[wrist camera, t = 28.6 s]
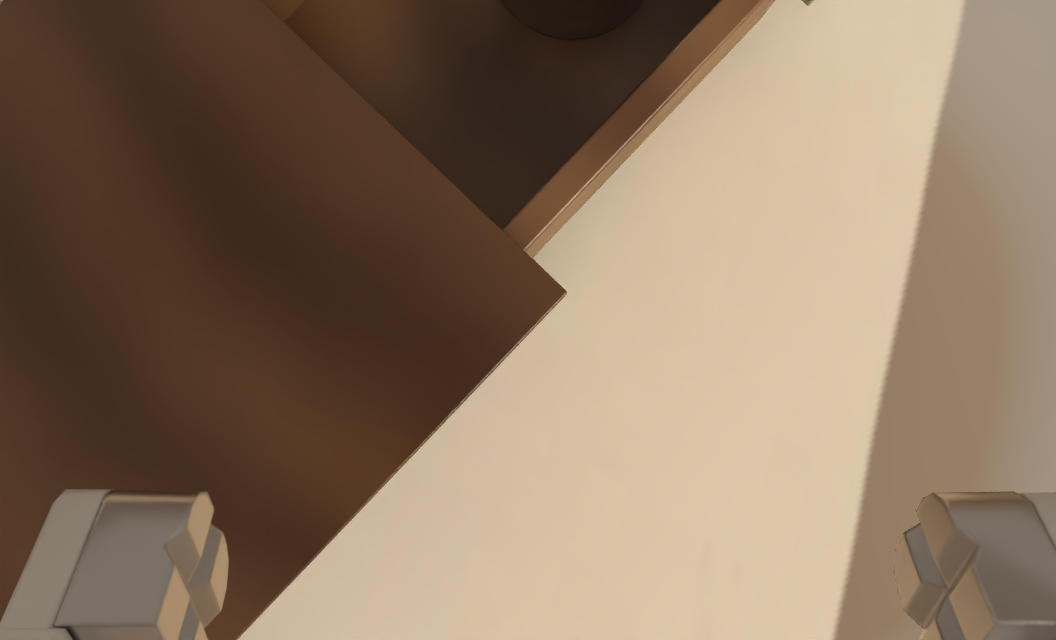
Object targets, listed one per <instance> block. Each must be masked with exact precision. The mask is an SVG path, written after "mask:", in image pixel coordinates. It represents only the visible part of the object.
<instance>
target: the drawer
mask: <svg viewBox="0 0 1056 640" xmlns="http://www.w3.org/2000/svg"><path fill="white" fill-rule="evenodd" d="M262 1H263V2H264V3H265V4H266V5H267V6H268V7H269V8H270V9H271V10H272V11H274V12H275V13H276V14H277V15H278V16H279V17H280V18H281V19H282V20H283V21H284V22H285V23H286V24H287V25H288V26H289V27H290V28H291V29H292V30H293V31H294V32H296V33H297V34H298V35H299V36H300V37H301V38H302V39H303V40H304V41H305V42H306V43H307V44H308V45H309V46H310V47H311V48H312V49H313V50H314V51H315V52H316V53H318V54H319V55H320V56H321V57H322V58H323V59H324V60H325V61H326V62H327V63H328V64H329V65H330V66H331V67H332V68H333V69H334V70H335V71H336V72H337V73H338V74H340V75H341V76H342V77H343V78H344V79H345V80H346V81H347V82H348V83H349V84H350V85H351V86H352V87H353V88H354V89H355V90H356V91H357V92H358V93H359V94H360V95H362V96H363V97H364V98H365V99H366V100H367V101H368V102H369V103H370V104H371V105H372V106H373V107H374V108H375V109H376V110H377V111H378V112H379V113H380V114H381V115H382V116H384V117H385V118H386V119H387V120H388V121H389V122H390V123H391V124H392V125H393V126H394V127H395V128H396V129H397V130H398V131H399V132H400V133H401V134H402V135H403V136H404V137H406V138H407V139H408V140H409V141H410V142H411V143H412V144H413V145H414V146H415V147H416V148H417V149H418V150H419V151H420V152H421V153H422V154H423V155H424V156H425V157H426V158H428V159H429V160H430V161H431V162H432V163H433V164H434V165H435V166H436V167H437V168H438V169H439V170H440V171H441V172H442V173H443V174H444V175H445V176H446V177H447V178H448V179H450V180H451V181H452V182H453V183H454V184H455V185H456V186H457V187H458V188H459V189H460V190H461V191H462V192H463V193H464V194H465V195H466V196H467V197H468V198H469V199H470V200H472V201H473V202H474V203H475V204H476V205H477V206H478V207H479V208H480V209H481V210H482V211H483V212H484V213H485V214H486V215H487V216H488V217H489V218H490V219H491V220H492V221H494V222H495V223H496V224H497V225H498V226H499V227H500V228H501V229H502V230H503V231H504V232H505V233H506V234H507V235H508V236H509V237H510V238H511V239H512V240H513V241H514V242H516V243H517V244H518V245H519V246H520V247H521V248H522V249H523V250H524V251H525V252H526V253H527V254H528V255H529V256H530V257H531V258H533V257H534V256H535V255H536V254H537V253H538V252H539V251H540V250H541V248H542V247H543V246H544V245H545V244H546V243H547V242H548V241H549V240H550V239H551V238H552V237H553V236H554V235H555V234H556V233H557V232H558V231H559V230H560V229H561V228H562V226H563V225H564V224H565V223H566V222H567V221H568V220H569V219H570V218H571V217H572V216H573V215H574V214H575V213H576V212H577V211H578V210H579V209H580V208H581V207H582V205H583V204H584V203H585V202H586V201H587V200H588V199H589V198H590V197H591V196H592V195H593V194H594V193H595V192H596V191H597V190H598V189H599V188H600V187H601V186H602V185H603V183H604V182H605V181H606V180H607V179H608V178H609V177H610V176H611V175H612V174H613V173H614V172H615V171H616V170H617V169H618V168H619V167H620V166H621V165H622V164H623V163H624V161H625V160H626V159H627V158H628V157H629V156H630V155H631V154H632V153H633V152H634V151H635V150H636V149H637V148H638V147H639V146H640V145H641V144H642V143H643V142H644V140H645V139H646V138H647V137H648V136H649V135H650V134H651V133H652V132H653V131H654V130H655V129H656V128H657V127H658V126H659V125H660V124H661V123H662V122H663V121H664V120H665V118H666V117H667V116H668V115H669V114H670V113H671V112H672V111H673V110H674V109H675V108H676V107H677V106H678V105H679V104H680V103H681V102H682V101H683V100H684V99H685V98H686V96H687V95H688V94H689V93H690V92H691V91H692V90H693V89H694V88H695V87H696V86H697V85H698V84H699V83H700V82H701V81H702V80H703V79H704V78H705V77H706V75H707V74H708V73H709V72H710V71H711V70H712V69H713V68H714V67H715V66H716V65H717V64H718V63H719V62H720V61H721V60H722V59H723V58H724V57H725V56H726V55H727V53H728V52H729V51H730V50H731V49H732V48H733V47H734V46H735V45H736V44H737V43H738V42H739V41H740V40H741V39H742V38H743V37H744V36H745V35H746V34H747V32H748V31H749V30H750V29H751V28H752V27H753V26H754V25H755V24H756V23H757V22H758V21H759V20H760V19H761V17H762V16H763V15H764V14H765V12H766V11H767V10H768V9H769V7H770V6H771V5H772V4H773V2H774V1H775V0H643V1H642V2H641V4H640V5H639V6H638V8H637V9H636V10H635V11H634V12H633V13H632V14H631V15H630V16H629V17H628V18H627V19H626V20H625V21H623V22H622V23H621V24H619V25H618V26H616V27H615V28H613V29H611V30H609V31H607V32H605V33H602V34H599V35H597V36H592V37H588V38H581V39H563V38H557V37H552V36H549V35H545V34H542V33H540V32H538V31H536V30H534V29H532V28H530V27H529V26H527V25H525V24H524V23H522V22H521V21H520V20H519V19H518V18H516V17H515V16H514V15H513V14H512V13H511V11H510V10H509V9H508V8H507V7H506V5H505V4H504V3H503V1H502V0H262ZM802 1H803V2H804V3H805V4H806V5H810V4H811V3H812V2H813V1H814V0H802Z"/></svg>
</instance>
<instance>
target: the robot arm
mask: <svg viewBox="0 0 1056 640" xmlns="http://www.w3.org/2000/svg"><path fill="white" fill-rule="evenodd" d="M214 509H215V508H214V506H213V504H212V501H211V499H210V497H209V494H208V492H207V491H150V490H114V489H65V490H64V491H63V492H62V494H61V495H60V496H59V497H58V498H57V499H56V500H55V502H54V503H53V504H52V506H51V508H50V511H49V513H48V515H47V518H46V520H45V522H44V524H43V527H42V529H41V531H40V533H39V536H38V538H37V540H36V542H35V545H34V547H33V549H32V552H31V554H30V556H29V558H28V561H27V563H26V565H25V567H24V570H23V572H22V574H21V576H20V579H19V581H18V583H17V585H16V588H15V590H14V592H13V595H12V597H11V599H10V601H9V604H8V606H7V608H6V610H5V613H4V615H3V617H2V619H1V622H0V640H208V638H207V636H206V633H205V631H204V628H205V627H206V626H207V625H208V624H209V623H210V622H211V621H212V620H213V619H214V618H215V617H216V616H217V615H218V614H219V613H220V612H221V610H222V606H223V602H224V597H225V593H226V589H227V579H228V567H229V558H228V549H227V543H226V540H225V537H224V534H223V531H221V530H220V529H218V528H217V527H215V526H214V525H212V524H211V520H212V516H213V513H214ZM916 512H917V515H918V518H919V521H920V523H919V524H918V525H916V526H914V527H913V528H911V529H909V530H908V531H906V532H904V533H903V535H902V537H901V539H900V541H899V543H898V545H897V548H896V550H895V563H894V575H895V581H896V587H897V592H898V595H899V598H900V601H901V604H902V607H903V610H904V612H905V613H907V614H908V615H909V616H910V617H911V618H912V619H913V620H914V621H915V622H916V623H917V624H918V625H920V626H921V627H922V628H923V631H922V634H921V636H920V639H919V640H1056V493H1015V492H955V493H954V492H951V493H931V494H929V495H927V496H925V497H923V499H922V501H921V502H920V504H919V506H918V508H917V510H916Z"/></svg>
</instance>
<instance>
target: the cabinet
mask: <svg viewBox="0 0 1056 640" xmlns="http://www.w3.org/2000/svg"><path fill="white" fill-rule="evenodd" d="M566 294H567V292H566V290H565V289H564V288H563V287H562V286H561V285H560V284H558V283H557V282H556V281H555V280H554V279H553V278H552V277H551V276H550V275H549V274H548V273H547V272H546V271H545V270H544V269H543V268H542V267H541V266H540V265H539V264H538V263H536V262H535V261H534V260H533V259H532V258H531V257H530V256H529V255H528V254H527V253H526V252H525V251H524V250H523V249H522V248H521V247H520V246H519V245H518V244H517V243H516V242H514V241H513V240H512V239H511V238H510V237H509V236H508V235H507V234H506V233H505V232H504V231H503V230H502V229H501V228H500V227H499V226H498V225H497V224H496V223H495V222H494V221H492V220H491V219H490V218H489V217H488V216H487V215H486V214H485V213H484V212H483V211H482V210H481V209H480V208H479V207H478V206H477V205H476V204H475V203H474V202H473V201H472V200H470V199H469V198H468V197H467V196H466V195H465V194H464V193H463V192H462V191H461V190H460V189H459V188H458V187H457V186H456V185H455V184H454V183H453V182H452V181H451V180H450V179H448V178H447V177H446V176H445V175H444V174H443V173H442V172H441V171H440V170H439V169H438V168H437V167H436V166H435V165H434V164H433V163H432V162H431V161H430V160H429V159H428V158H426V157H425V156H424V155H423V154H422V153H421V152H420V151H419V150H418V149H417V148H416V147H415V146H414V145H413V144H412V143H411V142H410V141H409V140H408V139H407V138H406V137H404V136H403V135H402V134H401V133H400V132H399V131H398V130H397V129H396V128H395V127H394V126H393V125H392V124H391V123H390V122H389V121H388V120H387V119H386V118H385V117H384V116H382V115H381V114H380V113H379V112H378V111H377V110H376V109H375V108H374V107H373V106H372V105H371V104H370V103H369V102H368V101H367V100H366V99H365V98H364V97H363V96H362V95H360V94H359V93H358V92H357V91H356V90H355V89H354V88H353V87H352V86H351V85H350V84H349V83H348V82H347V81H346V80H345V79H344V78H343V77H342V76H341V75H340V74H338V73H337V72H336V71H335V70H334V69H333V68H332V67H331V66H330V65H329V64H328V63H327V62H326V61H325V60H324V59H323V58H322V57H321V56H320V55H319V54H318V53H316V52H315V51H314V50H313V49H312V48H311V47H310V46H309V45H308V44H307V43H306V42H305V41H304V40H303V39H302V38H301V37H300V36H299V35H298V34H297V33H296V32H294V31H293V30H292V29H291V28H290V27H289V26H288V25H287V24H286V23H285V22H284V21H283V20H282V19H281V18H280V17H279V16H278V15H277V14H276V13H275V12H274V11H272V10H271V9H270V8H269V7H268V6H267V5H266V4H265V3H264V2H263V1H262V0H4V1H3V2H2V3H1V4H0V622H1V619H2V617H3V615H4V613H5V610H6V608H7V606H8V604H9V601H10V599H11V597H12V595H13V592H14V590H15V588H16V585H17V583H18V581H19V579H20V576H21V574H22V572H23V570H24V567H25V565H26V563H27V561H28V558H29V556H30V554H31V552H32V549H33V547H34V545H35V542H36V540H37V538H38V536H39V533H40V531H41V529H42V527H43V524H44V522H45V520H46V518H47V515H48V513H49V511H50V508H51V506H52V504H53V503H54V502H55V500H56V499H57V498H58V497H59V496H60V495H61V494H62V492H63V491H64V490H65V489H114V490H150V491H207V492H208V494H209V497H210V499H211V501H212V504H213V506H214V508H215V509H214V513H213V516H212V520H211V524H212V525H214V526H215V527H217V528H218V529H220V530H221V531H223V534H224V537H225V540H226V543H227V549H228V558H229V567H228V579H227V589H226V593H225V597H224V602H223V606H222V610H221V612H220V613H219V614H218V615H217V616H216V617H215V618H214V619H213V620H212V621H211V622H210V623H209V624H208V625H207V626H206V627H205V628H204V631H205V633H206V636H207V638H208V640H237V639H238V638H239V637H240V636H241V635H242V634H243V633H244V632H245V631H246V630H247V629H248V628H249V627H250V626H251V625H252V623H253V622H254V621H255V620H256V619H257V618H258V617H259V616H260V615H261V614H262V613H263V612H264V611H265V610H266V609H267V608H268V607H269V606H270V605H271V604H272V603H273V601H274V600H275V599H276V598H277V597H278V596H279V595H280V594H281V593H282V592H283V591H284V590H285V589H286V588H287V587H288V586H289V585H290V584H291V583H292V582H293V581H294V579H295V578H296V577H297V576H298V575H299V574H300V573H301V572H302V571H303V570H304V569H305V568H306V567H307V566H308V565H309V564H310V563H311V562H312V561H313V560H314V559H315V557H316V556H317V555H318V554H319V553H320V552H321V551H322V550H323V549H324V548H325V547H326V546H327V545H328V544H329V543H330V542H331V541H332V540H333V539H334V538H335V537H336V535H337V534H338V533H339V532H340V531H341V530H342V529H343V528H344V527H345V526H346V525H347V524H348V523H349V522H350V521H351V520H352V519H353V518H354V517H355V516H356V514H357V513H358V512H359V511H360V510H361V509H362V508H363V507H364V506H365V505H366V504H367V503H368V502H369V501H370V500H371V499H372V498H373V497H374V496H375V495H376V494H377V492H378V491H379V490H380V489H381V488H382V487H383V486H384V485H385V484H386V483H387V482H388V481H389V480H390V479H391V478H392V477H393V476H394V475H395V474H396V473H397V472H398V470H399V469H400V468H401V467H402V466H403V465H404V464H405V463H406V462H407V461H408V460H409V459H410V458H411V457H412V456H413V455H414V454H415V453H416V452H417V451H418V450H419V448H420V447H421V446H422V445H423V444H424V443H425V442H426V441H427V440H428V439H429V438H430V437H431V436H432V435H433V434H434V433H435V432H436V431H437V430H438V429H439V427H440V426H441V425H442V424H443V423H444V422H445V421H446V420H447V419H448V418H449V417H450V416H451V415H452V414H453V413H454V412H455V411H456V410H457V409H458V408H459V407H460V405H461V404H462V403H463V402H464V401H465V400H466V399H467V398H468V397H469V396H470V395H471V394H472V393H473V392H474V391H475V390H476V389H477V388H478V387H479V386H480V385H481V383H482V382H483V381H484V380H485V379H486V378H487V377H488V376H489V375H490V374H491V373H492V372H493V371H494V370H495V369H496V368H497V367H498V366H499V365H500V364H501V363H502V361H503V360H504V359H505V358H506V357H507V356H508V355H509V354H510V353H511V352H512V351H513V350H514V349H515V348H516V347H517V346H518V345H519V344H520V343H521V342H522V341H523V339H524V338H525V337H526V336H527V335H528V334H529V333H530V332H531V331H532V330H533V329H534V328H535V327H536V326H537V325H538V324H539V323H540V322H541V321H542V320H543V318H544V317H545V316H546V315H547V314H548V313H549V312H550V311H551V310H552V309H553V308H554V307H555V306H556V305H557V304H558V303H559V302H560V301H561V300H562V299H563V298H564V296H565V295H566Z"/></svg>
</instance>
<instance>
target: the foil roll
mask: <svg viewBox="0 0 1056 640" xmlns="http://www.w3.org/2000/svg"><path fill="white" fill-rule="evenodd" d="M502 1H503V3H504V4H505V5H506V7H507V8H508V9H509V10H510V11H511V13H512V14H513V15H514V16H515V17H516V18H518V19H519V20H520V21H521V22H522V23H524V24H525V25H527V26H529V27H530V28H532V29H534V30H536V31H538V32H540V33H542V34H545V35H549V36H552V37H557V38H563V39H581V38H588V37H592V36H597V35H599V34H602V33H605V32H607V31H609V30H611V29H613V28H615V27H616V26H618V25H619V24H621V23H622V22H623V21H625V20H626V19H627V18H628V17H629V16H630V15H631V14H632V13H633V12H634V11H635V10H636V9H637V8H638V6H639V5H640V4H641V2H642V1H643V0H502Z"/></svg>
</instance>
